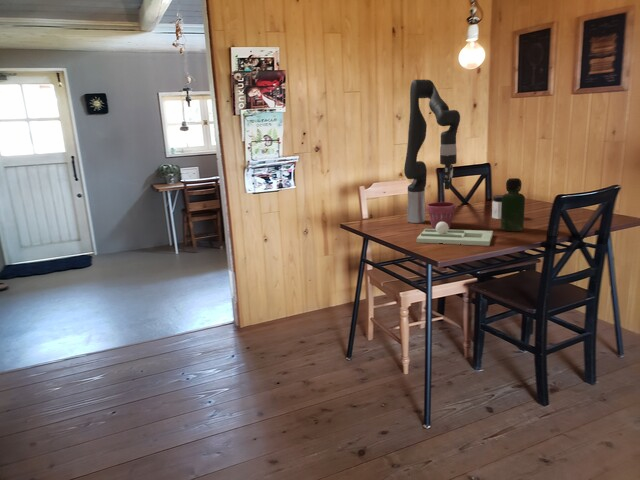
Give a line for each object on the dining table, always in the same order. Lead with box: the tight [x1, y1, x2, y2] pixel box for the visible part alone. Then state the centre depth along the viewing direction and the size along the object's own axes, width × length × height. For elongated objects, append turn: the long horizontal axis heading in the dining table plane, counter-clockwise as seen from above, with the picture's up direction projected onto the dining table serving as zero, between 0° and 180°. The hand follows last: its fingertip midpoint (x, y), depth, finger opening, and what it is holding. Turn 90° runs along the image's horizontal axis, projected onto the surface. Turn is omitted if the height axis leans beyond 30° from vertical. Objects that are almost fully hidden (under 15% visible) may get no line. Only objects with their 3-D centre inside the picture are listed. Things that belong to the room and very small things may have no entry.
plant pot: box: [426, 201, 456, 230], centre depth 242 cm, size 14×14×13 cm
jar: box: [491, 194, 504, 220], centre depth 259 cm, size 9×8×12 cm
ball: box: [436, 222, 450, 234], centre depth 223 cm, size 6×6×6 cm
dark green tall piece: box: [500, 177, 526, 232], centre depth 230 cm, size 10×10×25 cm
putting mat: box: [416, 228, 494, 247], centre depth 222 cm, size 32×20×3 cm, turn 66°
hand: (448, 188), depth 227 cm, fingers open, 8 cm apart
